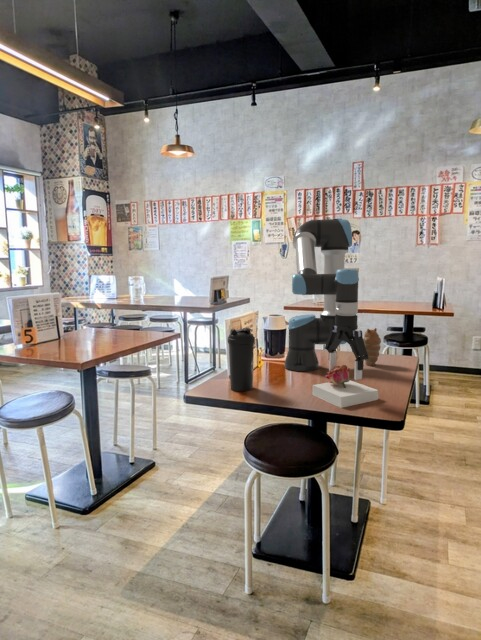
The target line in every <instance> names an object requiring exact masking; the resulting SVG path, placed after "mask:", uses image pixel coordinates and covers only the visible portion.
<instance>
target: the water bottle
mask: <svg viewBox="0 0 481 640" xmlns="http://www.w3.org/2000/svg"><path fill="white" fill-rule="evenodd" d="M251 331H252V329H251V328H249V327H245V328H241V329H235V328H230V331H229V332H230V333H229V335H228V337H227V343H228V356H229V357H228V359H229V378H230V379H229V380H230V389H231V391H234V392H247V391H251V390H253V388H254V386H253V383H254V350H255V349H254V348H255V347H254V344H255V342H256V341H255V340H256V339H255V336H254V334H253V333H252V332H251Z"/></svg>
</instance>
